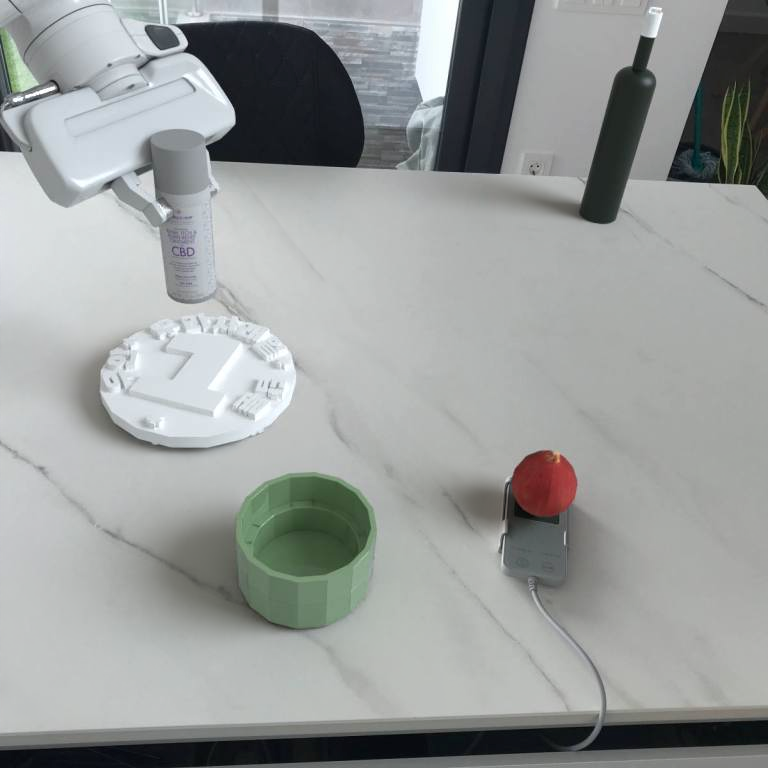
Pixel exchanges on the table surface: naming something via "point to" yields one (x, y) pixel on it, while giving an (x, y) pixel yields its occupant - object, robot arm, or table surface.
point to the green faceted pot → (305, 549)
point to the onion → (544, 483)
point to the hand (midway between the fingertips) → (189, 209)
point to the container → (185, 214)
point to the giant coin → (197, 381)
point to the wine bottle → (621, 129)
